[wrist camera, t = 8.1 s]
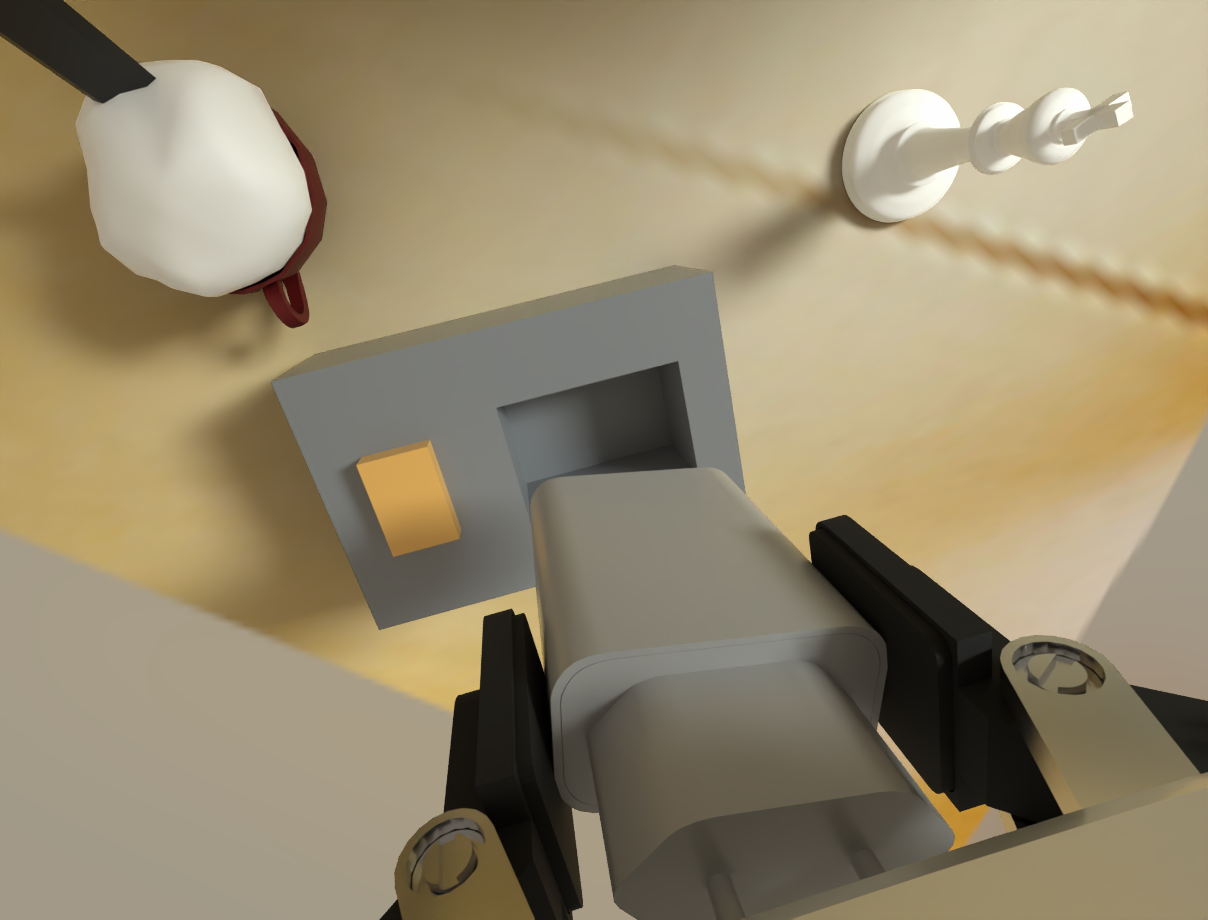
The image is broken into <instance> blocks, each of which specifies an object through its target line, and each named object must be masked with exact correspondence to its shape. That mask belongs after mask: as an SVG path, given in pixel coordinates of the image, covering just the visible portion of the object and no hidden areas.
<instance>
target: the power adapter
mask: <svg viewBox="0 0 1208 920" xmlns="http://www.w3.org/2000/svg"><path fill="white" fill-rule="evenodd" d="M530 511H531V528H532V545H533V562H534V572H535V583H536V593H537V604H538V614H539V624H540V635H541V645H542V655H543V666H544V674H545V684H546V695H547V705H548V715H549V726H550V736H551V746H552V757H553V767H554V777H555V781H556V784H557V787H558V789H559V792H560V795H561V798H562V800H563V801H564V802H565V803H566V804H568V805H569V806H570V807H572V808H574V809H576V810H579V811H583V812H591V813H599V815H600V821H601V827H602V833H603V839H604V844H605V851H606V856H607V862H608V868H609V874H610V880H611V886H612V892H613V898H614V902H615V903H616V905H617V906H618V907H619V908H620V909H622V910H623V911H625V912H626V913H628V914H629V915H631V916H633V917H634V918H636V919H637V920H740V919H743V918H746V917H749V916H752V915H755V914H758V913H761V912H764V911H767V910H771V909H774V908H777V907H780V906H783V905H786V904H789V903H792V902H795V901H798V900H801V899H804V898H807V897H810V896H813V895H816V894H820V893H823V892H826V891H829V890H832V889H835V888H838V887H841V886H844V885H847V884H850V883H853V882H856V881H859V880H862V879H865V878H869V877H872V876H875V875H878V874H881V873H884V872H887V871H890V870H893V869H896V868H899V867H902V866H906V865H909V864H912V863H915V862H918V861H921V860H924V859H927V858H930V857H933V856H936V855H939V854H942V853H946V852H948V851H949V849H950V848H951V847H952V846H953V843H954V839H955V836H954V833H953V831H952V829H951V828H950V827H949V825H948V824H947V823H946V821H945V820H944V819H943V817H942V816H941V815H940V814H939V812H938V811H937V810H936V808H935V807H934V806H933V804H932V803H931V802H930V800H929V799H928V798H927V797H926V795H925V794H924V793H923V791H922V790H921V789H920V787H919V786H918V785H917V783H916V782H915V781H914V779H913V778H912V777H911V776H910V774H909V773H908V772H907V770H906V769H905V768H904V766H903V765H902V764H901V762H900V761H899V760H898V759H897V757H896V756H895V755H894V753H893V752H892V751H891V749H890V748H889V747H888V745H887V744H886V743H885V741H884V740H883V739H882V738H881V736H880V735H879V734H878V732H877V726H878V720H879V714H880V709H881V703H882V697H883V691H884V686H885V680H886V674H887V668H888V665H887V650H886V643H885V641H884V640H883V638H882V637H881V636H880V634H879V633H878V632H877V631H876V630H875V629H874V628H873V627H872V626H871V625H870V624H869V623H868V622H867V621H866V620H865V619H864V618H863V617H862V615H861V614H860V613H859V612H858V611H857V610H856V609H855V608H854V607H853V606H852V605H851V604H850V603H849V602H848V601H847V600H846V599H845V598H844V597H843V596H842V595H841V594H840V593H839V591H838V590H837V589H836V588H835V587H834V586H833V585H832V584H831V583H830V582H829V581H828V580H827V579H826V578H825V577H824V576H823V575H822V574H821V573H820V572H819V571H818V570H817V569H816V567H815V566H814V565H813V564H812V563H811V562H810V561H809V560H808V559H807V558H806V557H805V556H804V555H803V554H802V553H801V552H800V551H799V550H798V549H797V548H796V547H795V546H794V545H793V543H792V542H791V541H790V540H789V539H788V538H787V537H786V536H785V535H784V534H783V533H782V532H781V531H780V530H779V529H778V528H777V527H776V526H775V525H774V524H773V523H772V522H771V521H770V519H769V518H768V517H767V516H766V515H765V514H764V513H763V512H762V511H761V510H760V509H759V508H758V507H757V506H756V505H755V504H754V503H753V502H752V501H751V500H750V499H749V498H748V497H747V495H746V494H745V493H744V492H743V491H742V490H741V489H740V488H739V487H738V486H737V485H736V484H735V483H734V482H733V481H732V480H731V479H730V478H729V477H728V476H727V475H726V474H725V473H724V472H723V471H721V470H719V469H716V468H710V467H700V468H685V469H670V470H655V471H641V472H626V473H611V474H596V475H582V476H567V477H558V478H553V479H550V480H548V481H545V482H544V483H542V484H541V485H540V486H539V487H538V488H537V489H536V491H535V493H534V494H533V496H532V499H531V504H530Z"/></svg>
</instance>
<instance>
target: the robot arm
mask: <svg viewBox="0 0 1208 920" xmlns="http://www.w3.org/2000/svg"><path fill="white" fill-rule="evenodd" d="M809 542H810V551H811V560H812V564H813V565H814V566H815V567H816V569H817V570H818V571H819V572H820V573H821V574H822V575H823V576H824V577H825V578H826V579H827V580H828V581H829V582H830V583H831V584H832V585H833V586H834V587H835V588H836V589H837V590H838V591H839V593H840V594H841V595H842V596H843V597H844V598H845V599H846V600H847V601H848V602H849V603H850V604H851V605H852V606H853V607H854V608H855V609H856V610H857V611H858V612H859V613H860V614H861V615H862V617H863V618H864V619H865V620H866V621H867V622H868V623H869V624H870V625H871V626H872V627H873V628H874V629H875V630H876V631H877V632H878V633H879V634H880V636H881V637H882V638H883V640H884V641H885V643H886V650H887V665H888V668H887V674H886V680H885V686H884V691H883V697H882V703H881V709H880V714H879V720H878V722H879V723H880V725H881V726H882V727H883V728H884V730H885V731H886V732H887V734H888V735H889V736H890V737H891V739H892V740H893V741H894V743H895V744H896V745H897V746H898V748H899V749H900V750H901V752H902V753H903V754H904V755H905V757H906V758H907V759H908V761H909V762H910V763H911V764H912V766H913V767H914V768H915V769H916V771H917V772H918V773H919V775H920V776H921V777H922V778H923V780H924V781H925V782H926V784H927V785H928V786H929V787H930V788H931V790H932V791H934V792H935V793H937V794H940V793H943V792H944V793H945V794H946V796H947V797H948V798H949V799H950V801H951V802H952V803H953V804H954V806H955V807H956V808H957V809H958V811H959V812H961V811H964V810H967V809H970V808H974V807H977V806H980V805H983V804H986V805H987V806H989V807H992V808H995V809H998V810H999V814H1000V818H1001V820H1002V822H1003V825H1004V827H1005V830H1006V832H1007V833H1005V834H1002V835H999V836H996V837H993V838H989V839H986V840H983V841H980V842H977V843H974V844H971V845H967V846H964V847H961V848H958V849H955V850H952V851H949V852H946V853H942V854H939V855H936V856H933V857H930V858H927V859H924V860H921V861H918V862H915V863H912V864H909V865H906V866H902V867H899V868H896V869H893V870H890V871H887V872H884V873H881V874H878V875H875V876H872V877H869V878H865V879H862V880H859V881H856V882H853V883H850V884H847V885H844V886H841V887H838V888H835V889H832V890H829V891H826V892H823V893H820V894H816V895H813V896H810V897H807V898H804V899H801V900H798V901H795V902H792V903H789V904H786V905H783V906H780V907H777V908H774V909H771V910H767V911H764V912H761V913H758V914H755V915H752V916H749V917H746V918H743V919H740V920H1208V701H1205V700H1200V699H1195V698H1190V697H1186V696H1181V695H1176V694H1172V693H1167V692H1162V691H1157V690H1152V689H1148V688H1143V687H1138V686H1134V685H1129V684H1128V683H1127V681H1126V680H1125V679H1124V677H1123V676H1122V675H1121V674H1120V672H1119V671H1118V670H1117V669H1116V667H1115V666H1114V665H1113V664H1112V663H1111V662H1110V661H1109V660H1108V659H1107V658H1106V657H1105V656H1104V655H1102V654H1101V653H1099V652H1097V651H1096V650H1094V649H1092V648H1090V647H1089V646H1087V645H1084V644H1081V643H1079V642H1076V641H1073V640H1070V639H1066V638H1061V637H1056V636H1043V635H1034V636H1027V637H1021V638H1018V639H1016V640H1014V641H1009V640H1008V639H1007V638H1005V637H1004V636H1003V635H1002V634H1000V633H999V632H998V631H997V630H995V629H994V628H993V627H992V626H990V625H989V624H988V623H986V622H985V621H984V620H983V619H981V618H980V617H979V616H978V615H976V614H975V613H974V612H972V611H971V610H970V609H969V608H967V607H966V606H965V605H964V604H962V603H961V602H960V601H959V600H957V599H956V598H955V597H953V596H952V595H951V594H950V593H948V592H947V591H946V590H945V589H943V588H942V587H941V586H940V585H938V584H937V583H936V582H934V581H933V580H932V579H931V578H929V577H928V576H927V575H926V574H924V573H923V572H922V571H921V570H919V569H918V568H916V567H914V566H910V565H909V564H908V563H907V562H905V561H904V560H903V559H902V558H900V557H899V556H898V555H896V554H895V553H894V552H893V551H891V550H890V549H889V548H888V547H886V546H885V545H884V544H883V543H881V542H880V541H879V540H878V539H876V538H875V537H874V536H873V535H871V534H870V533H869V532H868V531H866V530H865V529H864V528H863V527H861V526H860V525H859V524H858V523H856V522H855V521H854V520H853V519H851V518H850V517H849V516H847V515H842V516H838V517H835V518H831V519H828V520H824V521H820V522H818V523H817V524H816V530H815V531H812V532H810V534H809ZM394 874H395V890H396V894H397V898H398V899H397V900H396V901H395V903H394V904H393V905H392V906H391V907H390V908H389V909H388V911H387V912H386V913H385V914H384V915H383V916H382V917H381V919H380V920H573V916H572V911H573V910H576V909H579V908H582V907H583V898H582V889H581V881H580V873H579V865H578V857H577V849H576V840H575V832H574V824H573V816H572V808H571V807H570V806H569V805H568V804H566V803H565V802H564V801H563V800H562V798H561V795H560V792H559V789H558V787H557V784H556V781H555V777H554V767H553V757H552V746H551V736H550V726H549V715H548V705H547V695H546V684H545V674H544V671H543V668H542V665H541V662H540V658H539V655H538V652H537V649H536V646H535V643H534V640H533V637H532V634H531V631H530V628H529V624H528V621H527V618H526V616H525V614H524V613H522V614H518V615H515V614H514V611H513V610H512V609H509V610H505V611H502V612H498V613H494V614H491V615H487V616H485V617H484V619H483V637H482V657H481V677H480V689H479V690H476V691H472V692H469V693H465V694H462V695H458V696H457V698H456V701H455V706H454V716H453V726H452V735H451V746H450V755H449V765H448V774H447V784H446V795H445V805H444V813H443V814H441V815H439V816H437V817H434V818H432V819H431V820H430V821H428V822H427V823H426V824H425V825H423V826H422V827H421V828H419V829H418V831H417V832H416V833H415V834H414V835H413V836H412V837H411V838H410V840H409V841H408V842H407V844H406V846H405V847H404V849H403V851H402V852H401V854H400V856H399V858H398V862H397V865H396V869H395V873H394Z"/></svg>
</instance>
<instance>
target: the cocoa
mask: <svg viewBox="0 0 1208 920" xmlns="http://www.w3.org/2000/svg"><path fill="white" fill-rule="evenodd" d="M0 36H1V37H3V38H4V39H6V40H7V41H8V42H10V43H11V44H13V45H14V46H16V47H17V48H19V49H20V50H21V51H23V52H24V53H26V54H27V55H29V56H30V57H32V58H33V59H34V60H36V61H37V62H39V63H40V64H42V65H43V66H45V67H46V68H47V69H49V70H50V71H52V72H53V73H55V74H56V75H57V76H59V77H60V78H62V79H63V80H65V81H66V82H68V83H69V84H70V85H72V86H73V87H75V88H76V89H78V90H79V91H81V92H82V93H83V94H85V95H86V96H85V99H84V101H83V104H82V107H81V109H80V112H79V115H78V117H77V120H76V123H75V127H76V131H77V135H78V138H79V142H80V146H81V149H82V153H83V157H84V160H85V164H86V168H87V177H88V188H89V199H90V209H91V212H92V215H93V218H94V221H95V224H96V227H97V231H98V235H99V240H100V244H101V245H102V247H103V248H104V249H105V250H106V251H107V252H108V253H110V254H111V255H112V256H113V257H115V258H116V259H117V260H118V261H120V262H121V263H122V264H123V265H125V266H126V267H127V268H128V269H130V270H131V271H132V272H133V273H135V274H136V275H139V276H143V277H146V278H150V279H154V280H157V281H159V282H161V283H163V284H165V285H166V286H168V287H170V288H172V289H176V290H180V291H184V292H188V293H192V294H196V295H200V296H204V297H220V296H222V295H225V294H248V293H253V292H257V291H260V290H262V289H263V292H264V295H265V297H266V299H267V301H268V303H269V305H270V306H271V308H272V310H273V311H274V313H275V314H276V316H277V317H278V318H279V319H280V320H281V321H282V322H283V323H284V324H285V325H286V326H288V327H290V328H296V327H299V326H302V325H304V324H305V323H307V322H308V320H309V309H308V303H307V299H306V294H305V290H304V287H303V284H302V280H301V276H300V273H299V270H300V269H301V267H302V266H303V265H304V263H305V262H306V261H307V259H308V258H309V256H310V255H311V254H312V252H313V251H314V250H315V248H316V247H317V245H318V244H319V243H320V241H321V240H322V235H323V228H324V221H325V214H326V207H327V201H326V197H325V194H324V191H323V187H322V184H321V181H320V177H319V174H318V171H317V167H316V164H315V161H314V158H313V157H312V155H311V153H310V152H309V151H308V150H307V148H306V147H305V146H304V145H303V143H302V142H301V141H300V140H299V138H298V137H297V136H296V135H295V133H294V132H293V131H292V130H291V128H290V127H289V126H288V125H287V124H286V122H285V121H284V120H283V119H282V117H281V116H280V115H279V114H278V113H277V112H276V111H275V110H273V109H272V108H271V107H270V106H269V104H268V102H267V100H266V98H265V96H264V94H263V92H262V90H261V89H260V88H259V87H257V86H255V85H253V84H251V83H250V82H248V81H246V80H244V79H242V78H241V77H239V76H237V75H235V74H233V73H231V72H230V71H228V70H226V69H224V68H222V67H221V66H218V65H214V64H210V63H207V62H203V61H199V60H160V61H151V62H141V63H137V62H136V61H135V60H134V59H133V58H131V57H130V56H129V55H128V54H127V53H125V52H124V51H123V50H122V49H121V48H119V47H118V46H117V45H116V44H115V43H113V42H112V41H111V40H110V39H109V38H107V37H106V36H105V35H104V34H103V33H101V32H100V31H99V30H98V29H97V28H95V27H94V26H93V25H92V24H91V23H89V22H88V21H87V20H86V19H85V18H83V17H82V16H81V15H80V14H79V13H77V12H76V11H75V10H74V9H73V8H71V7H70V6H69V5H68V4H67V3H65V2H64V1H63V0H0ZM282 281H283V283H284V284H285V287H286V290H287V293H288V296H289V300H290V304H291V305H290V304H289V302H288V300H287V298H286V296H285V293H284V291H283V284H282Z"/></svg>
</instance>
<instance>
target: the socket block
mask: <svg viewBox="0 0 1208 920" xmlns="http://www.w3.org/2000/svg"><path fill="white" fill-rule="evenodd" d="M271 384H272V386H273V388H274V391H275V393H276V395H277V397H278V400H279V402H280V404H281V407H282V409H283V411H284V413H285V416H286V418H287V420H288V423H289V425H290V427H291V429H292V432H293V434H294V436H295V439H296V441H297V443H298V445H299V448H300V450H301V452H302V455H303V457H304V459H305V461H306V464H307V466H308V468H309V471H310V473H311V475H312V478H313V480H314V482H315V484H316V487H317V489H318V491H319V494H320V496H321V498H322V500H323V503H324V505H325V507H326V510H327V512H328V514H329V516H330V519H331V521H332V523H333V526H334V528H335V530H336V532H337V535H338V537H339V539H340V542H341V544H342V546H343V548H344V551H345V553H346V555H347V558H348V560H349V562H350V565H351V567H352V569H353V571H354V574H355V576H356V578H357V581H358V583H359V585H360V587H361V590H362V592H363V594H364V597H365V599H366V601H367V603H368V606H369V608H370V610H371V613H372V615H373V617H374V619H375V622H376V624H377V626H378V629H379V630H381V629H385V628H388V627H392V626H396V625H399V624H403V623H406V622H410V621H414V620H417V619H421V618H425V617H428V616H432V615H435V614H439V613H443V612H446V611H450V610H453V609H457V608H461V607H464V606H468V605H471V604H475V603H479V602H482V601H486V600H489V599H493V598H497V597H500V596H504V595H507V594H511V593H515V592H518V591H522V590H525V589H529V588H533V587H536V583H535V572H534V562H533V545H532V528H531V511H530V504H531V499H532V496H533V494H534V493H535V491H536V489H537V488H538V487H539V486H540V485H541V484H542V483H544V482H545V481H548V480H550V479H553V478H558V477H567V476H582V475H596V474H611V473H626V472H641V471H655V470H670V469H685V468H700V467H710V468H716V469H719V470H721V471H723V472H724V473H725V474H726V475H727V476H728V477H729V478H730V479H731V480H732V481H733V482H734V483H735V484H736V485H737V486H738V487H739V488H740V489H741V490H742V491H743V492H744V493H745V494H746V492H745V486H744V479H743V473H742V466H741V459H740V453H739V446H738V439H737V433H736V426H735V419H734V413H733V406H732V399H731V393H730V386H729V379H728V373H727V366H726V359H725V353H724V346H723V339H722V333H721V326H720V319H719V313H718V306H717V299H716V293H715V286H714V279H713V273H712V272H710V271H705V270H699V269H693V268H687V267H681V266H675V265H674V266H670V267H666V268H662V269H658V270H654V271H650V272H646V273H642V274H638V275H633V276H629V277H625V278H621V279H617V280H613V281H609V282H605V283H601V284H597V285H593V286H589V287H585V288H581V289H577V290H573V291H569V292H565V293H561V294H557V295H553V296H549V297H545V298H540V299H536V300H532V301H528V302H524V303H520V304H516V305H512V306H508V307H504V308H500V309H496V310H492V311H488V312H484V313H480V314H476V315H472V316H468V317H464V318H460V319H456V320H452V321H448V322H443V323H439V324H435V325H431V326H427V327H423V328H419V329H415V330H411V331H407V332H403V333H399V334H395V335H391V336H387V337H383V338H379V339H375V340H371V341H367V342H363V343H359V344H355V345H351V346H346V347H342V348H338V349H334V350H330V351H326V352H322V353H318V354H315V355H313V356H311V357H310V358H308V359H307V360H305V361H303V362H302V363H300V364H299V365H297V366H295V367H294V368H292V369H291V370H289V371H287V372H286V373H284V374H283V375H281V376H279V377H278V378H276V379H274V380H273V381H271Z"/></svg>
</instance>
